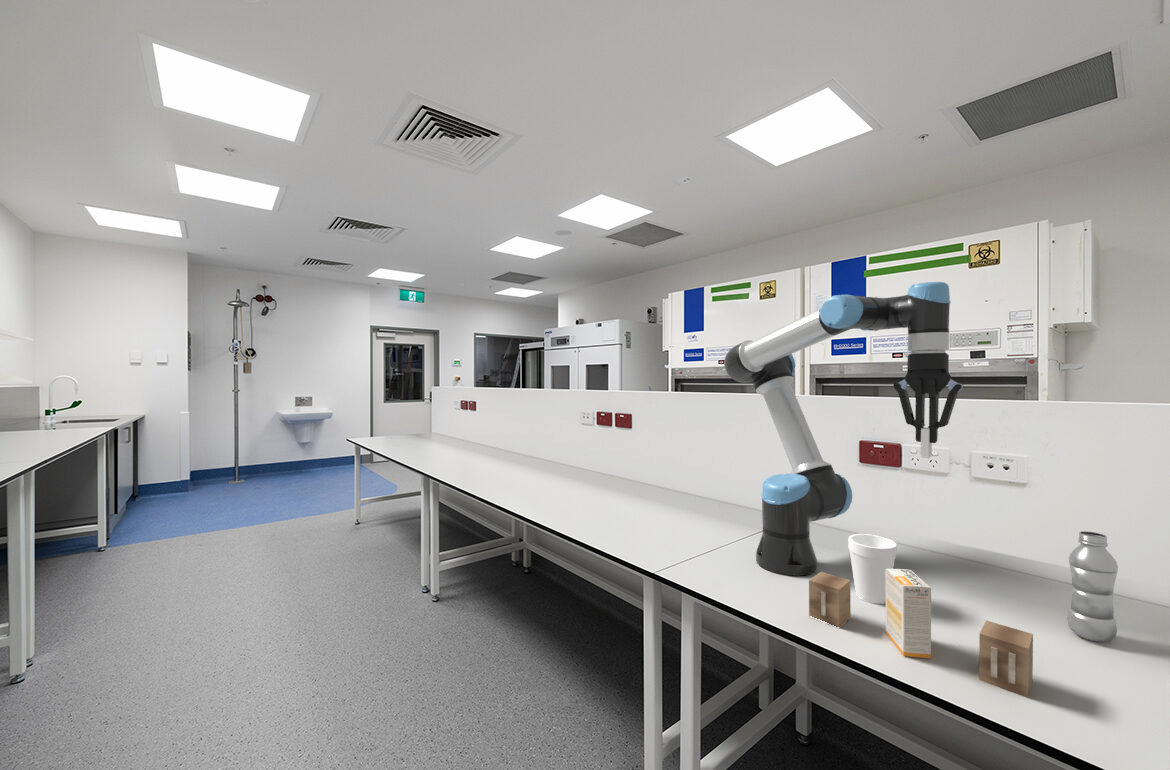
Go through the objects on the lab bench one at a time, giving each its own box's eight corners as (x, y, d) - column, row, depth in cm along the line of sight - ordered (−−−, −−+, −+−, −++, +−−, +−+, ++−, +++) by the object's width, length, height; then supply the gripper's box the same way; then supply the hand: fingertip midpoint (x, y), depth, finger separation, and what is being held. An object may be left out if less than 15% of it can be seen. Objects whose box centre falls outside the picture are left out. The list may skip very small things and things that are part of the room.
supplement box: (932, 659, 85) (933, 587, 85) (902, 656, 86) (902, 585, 86) (911, 634, 93) (911, 568, 93) (884, 632, 94) (884, 567, 94)
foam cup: (880, 611, 102) (880, 551, 102) (839, 593, 110) (839, 538, 110) (905, 600, 106) (905, 543, 106) (864, 584, 115) (864, 531, 114)
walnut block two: (978, 681, 79) (979, 634, 79) (985, 665, 83) (986, 620, 83) (1027, 699, 75) (1028, 649, 74) (1032, 681, 79) (1033, 634, 79)
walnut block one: (808, 617, 100) (808, 580, 100) (821, 607, 104) (820, 571, 104) (838, 628, 96) (838, 589, 95) (850, 617, 100) (850, 580, 100)
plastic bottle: (1057, 629, 94) (1058, 529, 93) (1088, 627, 94) (1089, 527, 94) (1094, 648, 87) (1096, 541, 87) (1127, 646, 88) (1129, 539, 87)
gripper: (968, 351, 104) (965, 458, 105) (899, 353, 114) (897, 451, 115) (960, 351, 99) (958, 463, 100) (889, 353, 109) (888, 455, 110)
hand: (926, 456), depth 107 cm, fingers closed
